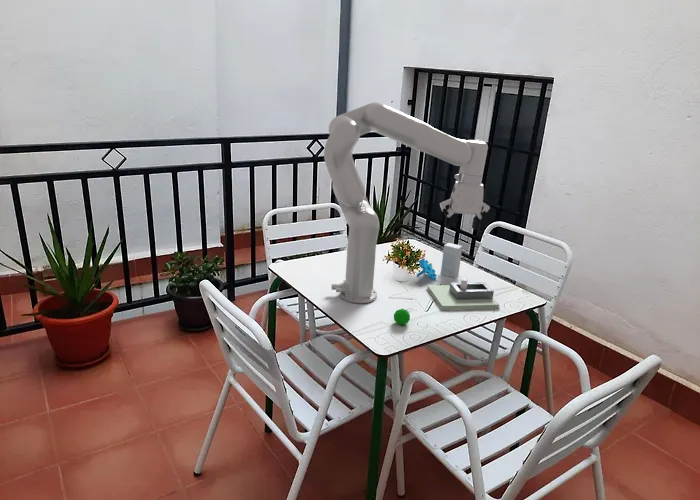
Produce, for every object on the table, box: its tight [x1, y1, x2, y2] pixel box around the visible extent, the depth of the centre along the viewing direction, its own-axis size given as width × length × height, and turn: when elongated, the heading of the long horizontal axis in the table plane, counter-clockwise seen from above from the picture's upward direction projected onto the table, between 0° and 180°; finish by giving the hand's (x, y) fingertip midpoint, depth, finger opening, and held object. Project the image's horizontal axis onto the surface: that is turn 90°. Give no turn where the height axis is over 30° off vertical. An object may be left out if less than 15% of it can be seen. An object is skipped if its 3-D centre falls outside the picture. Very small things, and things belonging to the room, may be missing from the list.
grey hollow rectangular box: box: [449, 281, 495, 300], centre depth 171 cm, size 13×7×3 cm, turn 99°
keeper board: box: [427, 278, 500, 311], centre depth 170 cm, size 20×16×7 cm
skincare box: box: [440, 242, 463, 278], centre depth 189 cm, size 6×4×12 cm
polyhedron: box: [393, 308, 411, 326], centre depth 152 cm, size 5×5×5 cm
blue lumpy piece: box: [416, 257, 437, 281], centre depth 187 cm, size 11×6×10 cm
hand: (460, 228), depth 167 cm, fingers open, 9 cm apart
